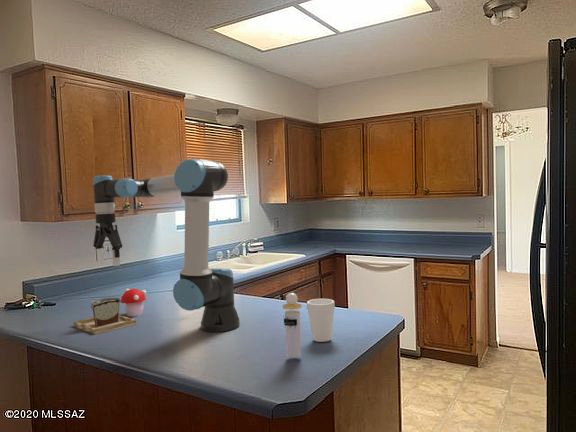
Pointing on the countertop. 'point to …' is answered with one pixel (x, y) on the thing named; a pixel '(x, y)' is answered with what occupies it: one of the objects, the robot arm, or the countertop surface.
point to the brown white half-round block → (105, 311)
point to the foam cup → (321, 318)
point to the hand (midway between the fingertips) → (108, 264)
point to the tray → (90, 326)
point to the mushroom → (133, 301)
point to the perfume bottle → (292, 326)
